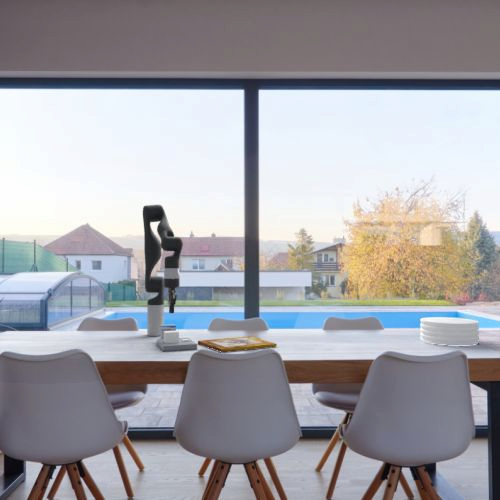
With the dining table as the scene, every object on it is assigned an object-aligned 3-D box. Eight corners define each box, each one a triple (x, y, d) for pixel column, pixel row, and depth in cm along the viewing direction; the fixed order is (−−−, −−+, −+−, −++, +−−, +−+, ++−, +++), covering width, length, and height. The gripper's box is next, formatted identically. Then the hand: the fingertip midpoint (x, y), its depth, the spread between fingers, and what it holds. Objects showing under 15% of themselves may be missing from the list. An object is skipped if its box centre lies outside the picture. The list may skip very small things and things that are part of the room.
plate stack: (425, 336, 262) (425, 316, 262) (481, 340, 248) (480, 319, 248) (415, 343, 238) (415, 321, 238) (476, 349, 224) (476, 325, 224)
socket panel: (156, 344, 235) (156, 337, 235) (188, 342, 241) (188, 336, 241) (163, 351, 216) (163, 344, 216) (197, 349, 222) (197, 342, 222)
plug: (163, 345, 229) (163, 331, 229) (176, 344, 231) (176, 330, 232) (165, 347, 224) (165, 332, 224) (178, 346, 226) (178, 332, 226)
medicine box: (160, 342, 241) (160, 325, 241) (160, 341, 245) (160, 324, 245) (176, 341, 243) (176, 325, 243) (175, 340, 247) (175, 324, 248)
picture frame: (197, 340, 237) (249, 336, 252) (197, 345, 237) (249, 340, 252) (221, 349, 214) (276, 343, 228) (221, 354, 214) (276, 348, 228)
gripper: (161, 277, 233) (161, 312, 233) (166, 278, 221) (166, 315, 221) (176, 277, 236) (176, 311, 236) (182, 278, 224) (182, 314, 223)
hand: (171, 313), depth 228 cm, fingers closed
